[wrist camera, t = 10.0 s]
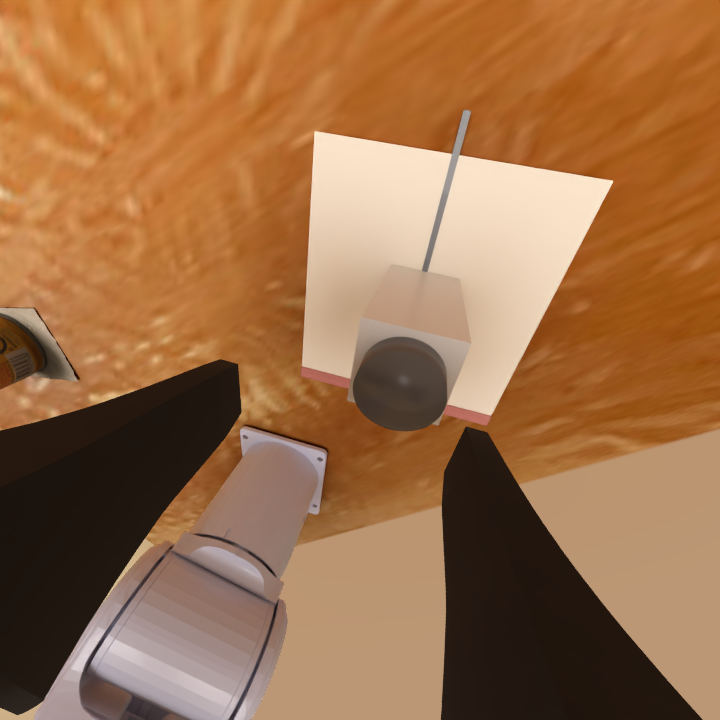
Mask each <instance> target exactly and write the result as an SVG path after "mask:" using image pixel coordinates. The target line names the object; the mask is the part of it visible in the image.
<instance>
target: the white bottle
mask: <svg viewBox="0 0 720 720" xmlns="http://www.w3.org/2000/svg"><path fill="white" fill-rule="evenodd" d="M471 344H472V343H471V337H470V332H469V327H468V322H467V316H466V311H465V306H464V301H463V295H462V290H461V285H460V279H457V278H453V277H448V276H443V275H439V274H434V273H430V272H425V271H420V270H416V269H411V268H406V267H402V266H397V265H391V267H390V268H389V270H388V272H387V273H386V275H385V277H384V278H383V280H382V282H381V284H380V285H379V287H378V289H377V290H376V292H375V294H374V295H373V297H372V299H371V300H370V302H369V304H368V306H367V307H366V309H365V311H364V312H363V314H362V316H361V319H360V325H359V331H358V337H357V343H356V349H355V355H354V361H353V367H352V373H351V379H350V385H349V391H348V397H347V401H350V402H354V403H356V404H357V406H358V408H359V409H360V410H361V412H362V413H363V414H364V415H365V416H366V417H367V418H368V419H370V420H371V421H372V422H374V423H376V424H378V425H380V426H382V427H384V428H387V429H391V430H396V431H413V430H418V429H422V428H424V427H427V426H429V425H430V424H434V425H439V423H440V420H441V418H442V415H443V413H444V410H445V408H446V405H447V403H448V400H449V398H450V396H451V393H452V391H453V388H454V386H455V383H456V381H457V378H458V376H459V373H460V371H461V368H462V366H463V363H464V361H465V359H466V356H467V354H468V351H469V349H470V346H471Z"/></svg>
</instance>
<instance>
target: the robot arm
mask: <svg viewBox="0 0 720 720" xmlns="http://www.w3.org/2000/svg"><path fill="white" fill-rule="evenodd" d="M240 414H241V399H240V385H239V372H238V364H236V363H232V362H228V361H225V360H221V359H220V360H217V361H214V362H211V363H208V364H205V365H202V366H200V367H197V368H195V369H192V370H189V371H187V372H184V373H182V374H179V375H177V376H174V377H171V378H169V379H166V380H164V381H161V382H158V383H156V384H153V385H150V386H148V387H145V388H143V389H140V390H137V391H134V392H131V393H128V394H125V395H122V396H120V397H117V398H114V399H111V400H108V401H105V402H102V403H100V404H96V405H93V406H90V407H87V408H84V409H81V410H77V411H74V412H71V413H67V414H64V415H60V416H56V417H53V418H49V419H46V420H42V421H39V422H35V423H31V424H27V425H23V426H18V427H14V428H10V429H6V430H2V431H0V708H2V709H5V710H7V711H9V712H12V713H14V714H16V715H19V714H22V713H24V712H26V711H28V710H30V709H32V708H34V707H35V706H37V705H38V704H40V703H41V702H42V701H43V703H42V704H41V705H40V707H39V708H38V710H37V711H36V713H35V716H34V720H251V719H252V718H253V716H254V714H255V712H256V710H257V709H258V707H259V704H260V703H261V701H262V698H263V696H264V694H265V692H266V690H267V687H268V685H269V682H270V680H271V678H272V675H273V672H274V670H275V667H276V664H277V661H278V658H279V655H280V652H281V649H282V645H283V642H284V638H285V634H286V628H287V614H286V605H285V603H284V601H283V600H281V599H279V595H280V593H281V590H282V587H283V585H284V582H282V581H280V580H279V579H280V578H281V576H282V575H283V573H284V571H285V569H286V567H287V564H288V562H289V559H290V557H291V555H292V552H293V550H294V547H295V545H296V542H297V540H298V537H299V535H300V532H301V530H302V527H303V525H304V522H305V520H306V517H307V515H308V513H312V514H318V513H319V511H320V505H321V497H322V490H323V482H324V475H325V468H326V460H327V452H326V450H324V449H322V448H319V447H315V446H312V445H309V444H305V443H302V442H298V441H295V440H292V439H288V438H285V437H281V436H278V435H275V434H271V433H268V432H264V431H261V430H257V429H254V428H251V427H247V426H243V427H242V428H241V429H240V437H241V448H242V459H241V460H240V462H239V463H238V464H237V466H236V467H235V469H234V470H233V471H232V473H231V474H230V476H229V477H228V478H227V480H226V481H225V483H224V484H223V485H222V487H221V488H220V490H219V491H218V492H217V494H216V495H215V496H214V498H213V499H212V501H211V502H210V503H209V505H208V506H207V508H206V509H205V510H204V512H203V513H202V515H201V516H200V517H199V519H198V520H197V522H196V523H195V524H194V526H193V527H192V529H191V530H190V531H189V532H187V531H185V532H184V533H183V534H182V536H181V537H180V538H179V540H178V541H177V542H176V544H173V543H171V542H169V541H164V542H162V543H161V544H158V545H156V546H153V547H151V548H150V549H148V550H147V551H146V552H145V553H144V554H143V555H142V556H141V557H140V558H139V559H138V560H137V561H136V563H135V564H134V565H133V566H132V567H131V568H130V569H129V571H128V572H127V573H126V574H125V575H124V577H123V578H122V579H121V580H120V581H119V583H118V584H117V585H116V587H115V588H114V589H113V590H112V592H111V593H110V595H109V596H108V597H107V598H106V596H107V594H108V593H109V591H110V590H111V588H112V586H113V585H114V583H115V582H116V580H117V579H118V577H119V576H120V574H121V573H122V571H123V570H124V568H125V567H126V565H127V564H128V562H129V561H130V559H131V558H132V556H133V555H134V553H135V552H136V550H137V549H138V547H139V546H140V545H141V543H142V542H143V540H144V539H145V537H146V536H147V535H148V533H149V532H150V530H151V529H152V527H153V526H154V525H155V523H156V522H157V520H158V519H159V518H160V516H161V515H162V513H163V512H164V511H165V510H166V508H167V507H168V506H169V504H170V503H171V502H172V501H173V499H174V498H175V497H176V496H177V495H178V493H179V492H180V491H181V490H182V489H183V488H184V486H185V485H186V484H187V483H188V482H189V480H190V479H191V478H192V477H193V476H194V475H195V473H196V472H197V471H198V470H199V469H200V468H201V466H202V465H203V464H204V463H205V462H206V460H207V459H208V458H209V457H210V456H211V454H212V453H213V452H214V451H215V450H216V448H217V447H218V446H219V445H220V444H221V442H222V441H223V440H224V439H225V437H226V436H227V434H228V433H229V431H230V430H231V428H232V427H233V425H234V424H235V422H236V420H237V419H238V417H239V415H240ZM442 519H443V542H444V562H445V583H446V628H445V655H444V675H443V694H442V712H441V720H702V719H701V718H700V716H699V715H698V714H697V713H696V712H695V711H694V710H693V709H692V707H691V706H690V705H689V704H688V703H687V702H686V701H685V700H684V699H683V698H682V696H681V695H680V694H679V693H678V692H677V691H676V690H675V689H674V687H673V686H672V685H671V684H670V683H669V682H668V681H667V679H666V678H665V677H664V676H663V675H662V674H661V672H660V671H659V670H658V669H657V668H656V667H655V665H654V664H653V663H652V662H651V661H650V660H649V659H648V657H647V656H646V655H645V654H644V653H643V651H642V650H641V649H640V648H639V647H638V646H637V645H636V643H635V642H634V641H633V640H632V639H631V637H630V636H629V635H628V634H627V633H626V632H625V631H624V629H623V628H622V627H621V626H620V624H619V623H618V622H617V621H616V620H615V618H614V617H613V616H612V615H611V613H610V612H609V611H608V610H607V609H606V607H605V606H604V605H603V604H602V602H601V601H600V600H599V598H598V597H597V596H596V595H595V593H594V592H593V591H592V589H591V588H590V587H589V585H588V584H587V583H586V582H585V580H584V579H583V578H582V577H581V575H580V574H579V573H578V571H577V570H576V569H575V567H574V566H573V565H572V563H571V562H570V561H569V559H568V558H567V557H566V555H565V554H564V552H563V551H562V550H561V548H560V547H559V545H558V544H557V542H556V541H555V540H554V538H553V537H552V535H551V534H550V533H549V531H548V530H547V528H546V527H545V525H544V524H543V522H542V521H541V519H540V518H539V516H538V515H537V513H536V512H535V510H534V509H533V507H532V506H531V504H530V503H529V501H528V500H527V498H526V496H525V495H524V493H523V492H522V490H521V488H520V487H519V485H518V483H517V482H516V480H515V478H514V477H513V475H512V473H511V472H510V470H509V468H508V467H507V465H506V463H505V462H504V460H503V458H502V457H501V455H500V453H499V451H498V450H497V448H496V446H495V445H494V443H493V441H492V439H491V438H490V436H489V434H488V433H487V432H484V431H480V430H477V429H473V428H469V427H466V428H465V430H464V432H463V434H462V436H461V438H460V440H459V442H458V444H457V446H456V448H455V450H454V452H453V455H452V457H451V459H450V461H449V463H448V465H447V467H446V469H445V471H444V482H443V495H442ZM105 598H106V600H105V601H104V602H103V600H104V599H105ZM102 602H103V604H102ZM101 604H102V605H101ZM100 605H101V606H100ZM99 607H100V608H99ZM97 610H98V611H97ZM73 649H74V650H73ZM72 651H73V652H72Z"/></svg>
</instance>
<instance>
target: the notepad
mask: <svg viewBox="0 0 720 720" xmlns="http://www.w3.org/2000/svg"><path fill="white" fill-rule="evenodd" d="M470 113H471V111H468V110H464V111H463V115H462V119H461V122H460V126H459V130H458V134H457V138H456V142H455V145H454V149H453V153H452V154H449V153H443V152H437V151H431V150H425V149H419V148H413V147H407V146H401V145H395V144H389V143H383V142H377V141H371V140H365V139H359V138H353V137H347V136H341V135H335V134H329V133H323V132H317V131H315V136H314V154H313V173H312V191H311V210H310V228H309V246H308V265H307V283H306V302H305V320H304V339H303V357H302V367H301V376H302V377H306V378H310V379H313V380H317V381H321V382H325V383H328V384H332V385H336V386H340V387H343V388H347V389H349V385H350V379H351V373H352V367H353V361H354V355H355V349H356V343H357V337H358V331H359V325H360V319H361V316H362V314H363V312H364V311H365V309H366V307H367V306H368V304H369V302H370V300H371V299H372V297H373V295H374V294H375V292H376V290H377V289H378V287H379V285H380V284H381V282H382V280H383V278H384V277H385V275H386V273H387V272H388V270H389V268H390V267H391V265H397V266H402V267H406V268H411V269H416V270H420V271H425V272H430V273H434V274H439V275H443V276H448V277H453V278H457V279H460V285H461V290H462V295H463V301H464V306H465V311H466V316H467V322H468V327H469V332H470V337H471V343H472V344H471V346H470V349H469V351H468V354H467V356H466V359H465V361H464V363H463V366H462V368H461V371H460V373H459V376H458V378H457V381H456V383H455V386H454V388H453V391H452V393H451V396H450V398H449V400H448V403H447V405H446V408H445V410H444V413H443V414H445V415H448V416H452V417H456V418H460V419H463V420H467V421H471V422H475V423H478V424H482V425H486V426H487V424H488V422H489V420H490V418H491V415H492V413H493V411H494V409H495V407H496V405H497V403H498V402H499V400H500V398H501V396H502V394H503V392H504V390H505V388H506V386H507V384H508V382H509V380H510V379H511V377H512V375H513V373H514V371H515V369H516V367H517V365H518V363H519V361H520V359H521V357H522V356H523V354H524V352H525V350H526V348H527V346H528V344H529V342H530V340H531V338H532V336H533V334H534V333H535V331H536V329H537V327H538V325H539V323H540V321H541V319H542V317H543V315H544V313H545V311H546V310H547V308H548V306H549V304H550V302H551V300H552V298H553V296H554V294H555V292H556V290H557V288H558V286H559V285H560V283H561V281H562V279H563V277H564V275H565V273H566V271H567V269H568V267H569V265H570V263H571V262H572V260H573V258H574V256H575V254H576V252H577V250H578V248H579V246H580V244H581V242H582V240H583V239H584V237H585V235H586V233H587V231H588V229H589V227H590V225H591V223H592V221H593V219H594V217H595V216H596V214H597V212H598V210H599V208H600V206H601V204H602V202H603V200H604V198H605V196H606V194H607V193H608V191H609V189H610V187H611V185H612V183H613V181H611V180H605V179H599V178H593V177H587V176H581V175H575V174H569V173H563V172H557V171H551V170H545V169H539V168H533V167H527V166H521V165H515V164H509V163H503V162H497V161H491V160H485V159H479V158H473V157H467V156H461V155H459V154H460V150H461V147H462V143H463V139H464V136H465V132H466V128H467V125H468V121H469V117H470Z"/></svg>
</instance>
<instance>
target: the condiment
mask: <svg viewBox="0 0 720 720" xmlns="http://www.w3.org/2000/svg"><path fill="white" fill-rule="evenodd" d="M28 327H30V328H31V329H29V328H28ZM32 329H33V330H35V331H36V332H34V331H33V330H32ZM50 366H51V367H50ZM28 376H37V377H45V378H50V379H63V380H68V381H78V380H77V378H76V377H75V375H74V371H73V370H72V368H71V366H70V365H69V363H68V362H67V360H66V358H65V356H64V354H63V352H62V351H61V349H60V348H59V346H58V345H57V343H56V339H54V338H53V337H52V336H51V334H50V333H49V331H48V330H47V328H46V326H45V324H44V322H43V321H42V320H41V319H40V318H39V316H38V315H37V313H36V311H35V310H34V308H28V309H25V308H0V389H3V388H5V387H7V386H9V385H11V384H14V383H16V382H18V381H20V380H22V379H24V378H26V377H28Z"/></svg>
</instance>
